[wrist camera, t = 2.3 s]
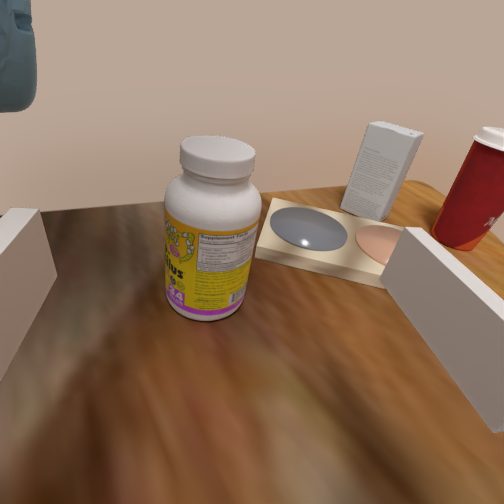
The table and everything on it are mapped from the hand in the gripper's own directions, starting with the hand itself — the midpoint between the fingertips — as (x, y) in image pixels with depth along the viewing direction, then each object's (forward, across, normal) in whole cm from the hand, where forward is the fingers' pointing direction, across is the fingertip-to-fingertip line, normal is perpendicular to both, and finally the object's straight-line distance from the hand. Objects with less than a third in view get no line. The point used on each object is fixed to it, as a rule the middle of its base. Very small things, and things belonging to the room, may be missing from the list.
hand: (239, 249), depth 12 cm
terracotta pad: (+16, +21, -11) cm, 29 cm away
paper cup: (+21, +34, -12) cm, 42 cm away
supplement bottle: (+10, 0, -12) cm, 16 cm away
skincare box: (+27, +23, -12) cm, 38 cm away
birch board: (+18, +16, -12) cm, 27 cm away
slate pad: (+20, +12, -10) cm, 25 cm away
